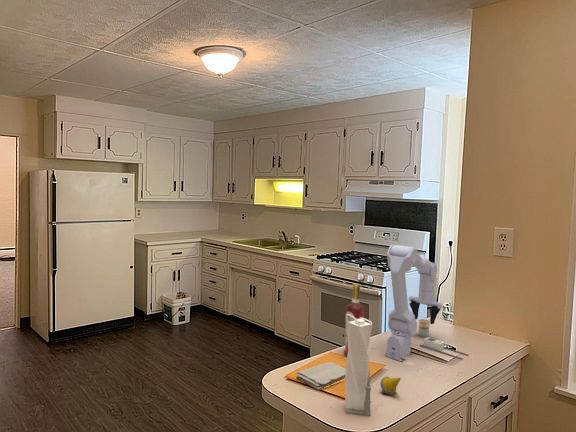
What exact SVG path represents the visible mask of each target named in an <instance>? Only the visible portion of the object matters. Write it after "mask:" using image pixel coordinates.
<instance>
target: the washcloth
mask: <svg viewBox="0 0 576 432" xmlns="http://www.w3.org/2000/svg"><path fill="white" fill-rule="evenodd" d="M345 374H346V367H342V366H341V365H339V364H338V363H334V362H332V361H328V362H324V363H321V364H317V365H314V366H312V367H309V368H306V369H301V370H299V371H297V372H296V375H297V376H296V377H297V378H296V379H298V380H299V379H300V380H301V381H300V380H299V381H300V382H301V383H304V384H306V385H308V386H309V387H311V388H313V389H315V390H317V391H319V390H320V391H321V390H323V389H322V388H324V387H326V386H328V385H331V384H333V383H335V382H337V381H340V380H342V379H344V378H345ZM324 389H325V388H324Z"/></svg>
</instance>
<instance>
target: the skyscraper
mask: <svg viewBox="0 0 576 432" xmlns="http://www.w3.org/2000/svg"><path fill="white" fill-rule="evenodd" d="M347 316H351V317H352V318H354V319H355V321H351V322H348V317H347ZM346 318H347V331H348V349H349V350H348V355H346V362H345V368H346V374H345V381H344V384H345V385H344V387H345V388H344V389H345V391H344V392H345V395H344V397H345V414H351V415H356V416H357V415H358V416H363V417H364V416H366V417H371V402H372V401H371V391H372V386H371V377H370V376H371V375H370V374H371V371H370V359H369V353H368V348H369V343H370V340H371V335H372V330H373V326H374V325H373V322H372V321H371V320H370V319H367V318H365V317H364V318H362V317H360V319H356V318H355V317H354V316H352V315H350V314H346V313H345V319H346Z"/></svg>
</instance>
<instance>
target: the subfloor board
mask: <svg viewBox="0 0 576 432" xmlns="http://www.w3.org/2000/svg"><path fill="white" fill-rule="evenodd" d="M419 347H422V348H424V349H426V350H430V351H432V352H437V353H439V354H443V355H445V356H448V357H452V358H455V359H458V360H461V361H462V360H463V358H462V357H459V356H457V355H454V354H450V353H448V352H445V351H443V350H447V351H450V352H453V353H457V354H460V355H462V356H465V357H469V353H468V354H467V353H465V352H462V351H458V350H455V349H453V348H449V347H445V346H444V349H443V350H441V351H439V350H436V349H433V348H429V347H426V346H423V344H419Z"/></svg>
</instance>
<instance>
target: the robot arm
mask: <svg viewBox="0 0 576 432" xmlns="http://www.w3.org/2000/svg"><path fill="white" fill-rule="evenodd" d="M418 251H419V250H418V248H416V247H415V246H407V245H401V244H395V243H392V244H390V246H389V247H388V250H387V253H386V259H387V264H388V267H387V268H389V269H390V277H391V287H392V295H393V306H394V309H392V310H391V311H390V312H389V314H388V322H387V326H388V329H390V333H391V335H390V337H388V338H387V341H386V342H387V343H386V353H384V356H385V357H388V358H391V359H393V360H396V361H399V362H402V363H403V362H404V361H406V360H407V359H405V358H403V357H406V356H409V355H411V348H412V336H413V335H414V334H416V332H417V329H418V322H417V320H418V319H419V310H420V306H421V305H424V306H425V305H426V306H429V307H430V308H429V314H430V319H429V321H430V324H429V325H434V324H435V321H436V318H437V316H438V314H439V312H440V311H441V309H443V303H442V302H438V301H436V300H433V297H434V285H435V283H434V282H435V280H436V277H437V271H438V266H437V264H436V263H435V262H431V261H430V260H429V258H427V257H426V255H424V254H419V253H418ZM413 267H414V268H415V269H416V270H417V274H419V281H418V282H419V285H418V286H419V287H418V296H412V295H410V296H408V291H407V290H408V289H407V281H406V280H407V278H406V273H407V272H410V271H411V270H412V268H413ZM408 301H409V302H408ZM409 307H410V309H411V310H410V309H409Z"/></svg>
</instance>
